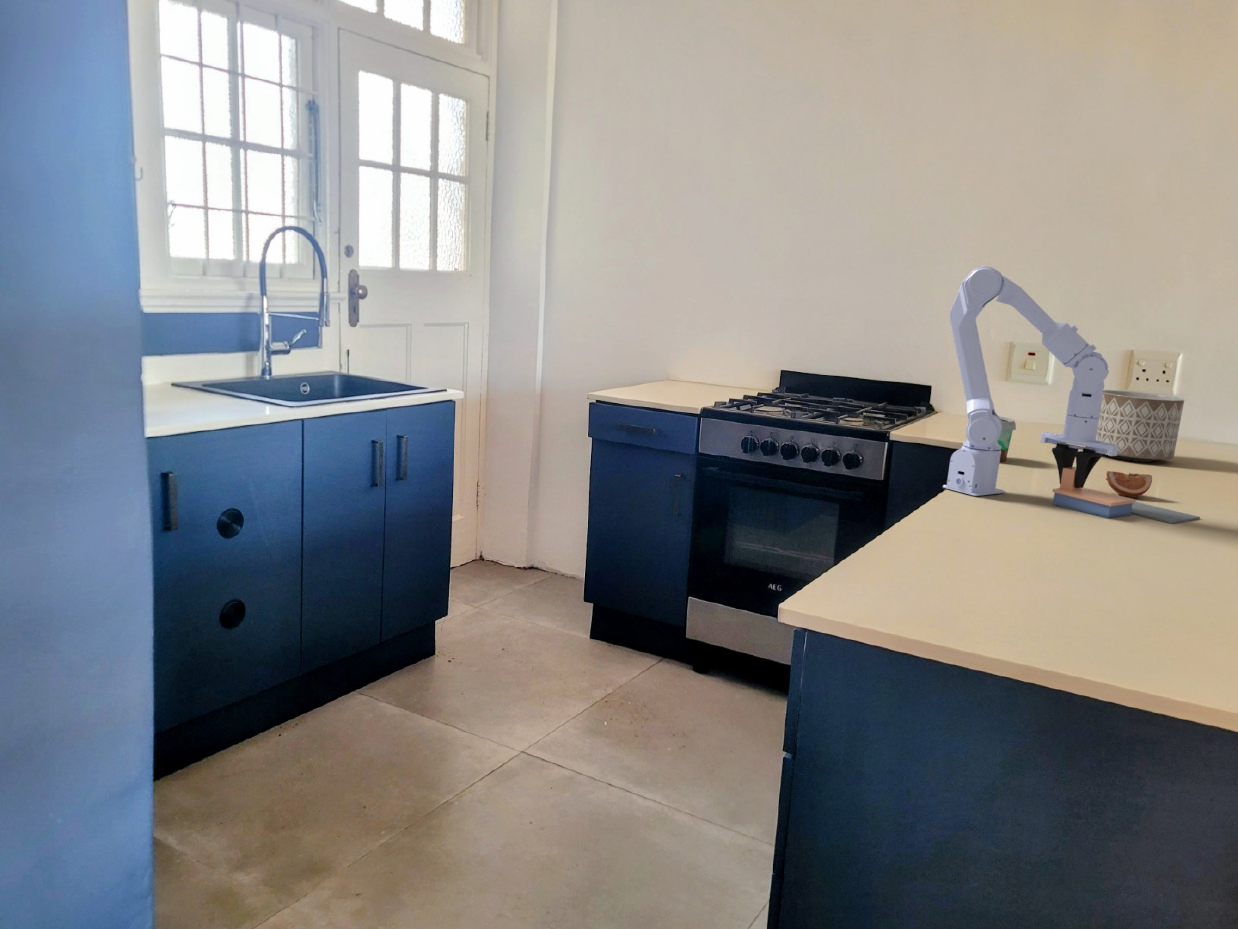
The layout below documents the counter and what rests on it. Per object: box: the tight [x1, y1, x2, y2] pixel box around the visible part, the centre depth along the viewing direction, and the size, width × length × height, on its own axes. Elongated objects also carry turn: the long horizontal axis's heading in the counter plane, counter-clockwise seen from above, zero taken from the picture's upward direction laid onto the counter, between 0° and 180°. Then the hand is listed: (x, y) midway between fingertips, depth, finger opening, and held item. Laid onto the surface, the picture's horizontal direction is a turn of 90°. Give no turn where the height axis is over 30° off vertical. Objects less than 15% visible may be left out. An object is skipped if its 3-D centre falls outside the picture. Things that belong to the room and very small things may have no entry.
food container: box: [997, 415, 1017, 463], centre depth 227 cm, size 12×6×10 cm, turn 168°
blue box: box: [1052, 492, 1133, 519], centre depth 178 cm, size 8×11×2 cm
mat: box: [1131, 501, 1201, 525], centre depth 179 cm, size 10×13×1 cm
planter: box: [1096, 389, 1185, 463], centre depth 242 cm, size 19×19×16 cm
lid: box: [1051, 466, 1137, 506], centre depth 178 cm, size 8×12×6 cm
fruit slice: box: [1105, 470, 1153, 498], centre depth 193 cm, size 8×7×5 cm
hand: (1071, 485), depth 181 cm, fingers closed on lid, 2 cm apart
